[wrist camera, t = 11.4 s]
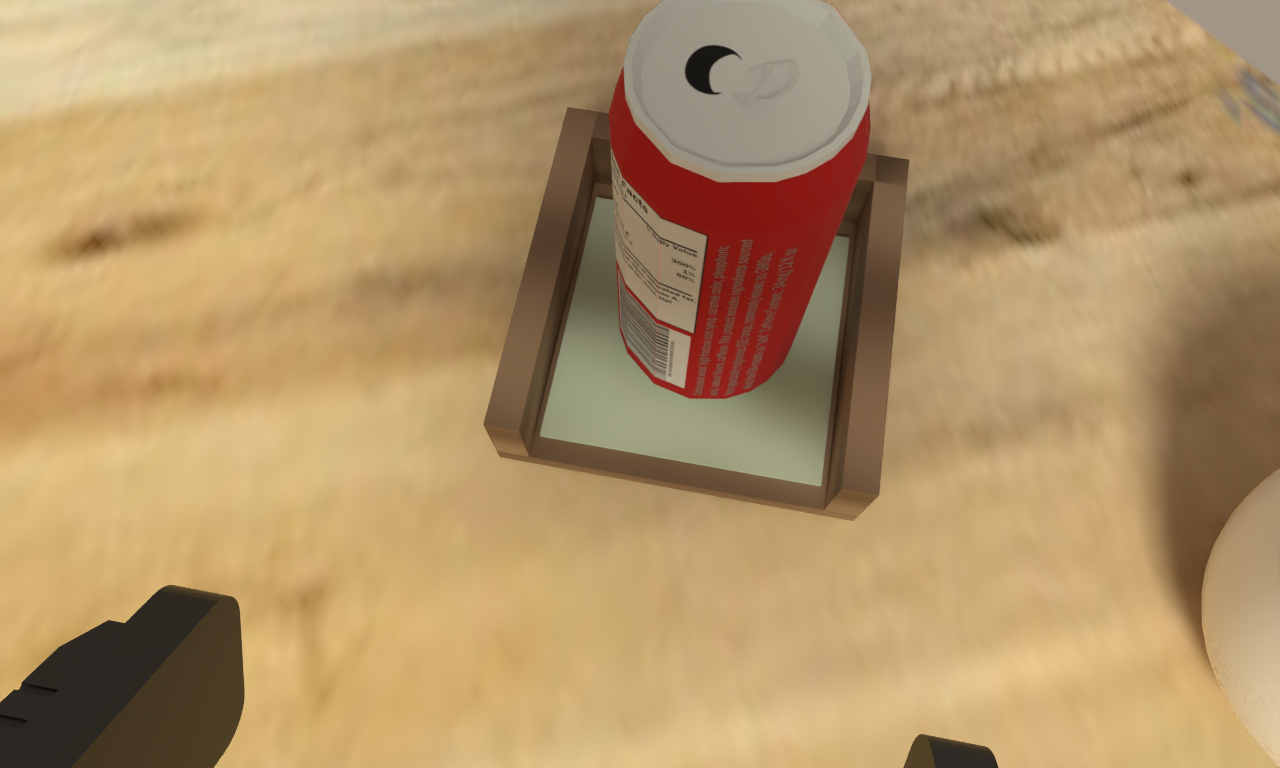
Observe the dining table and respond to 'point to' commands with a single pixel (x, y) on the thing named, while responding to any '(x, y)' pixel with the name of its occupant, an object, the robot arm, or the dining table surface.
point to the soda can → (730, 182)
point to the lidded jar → (1248, 614)
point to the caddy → (699, 428)
